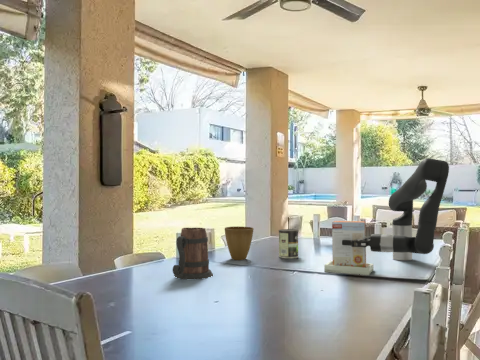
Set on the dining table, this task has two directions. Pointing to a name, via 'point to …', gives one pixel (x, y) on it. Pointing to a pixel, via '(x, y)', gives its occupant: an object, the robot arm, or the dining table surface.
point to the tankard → (192, 254)
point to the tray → (348, 269)
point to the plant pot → (238, 241)
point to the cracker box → (346, 253)
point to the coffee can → (288, 243)
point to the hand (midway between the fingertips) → (344, 241)
